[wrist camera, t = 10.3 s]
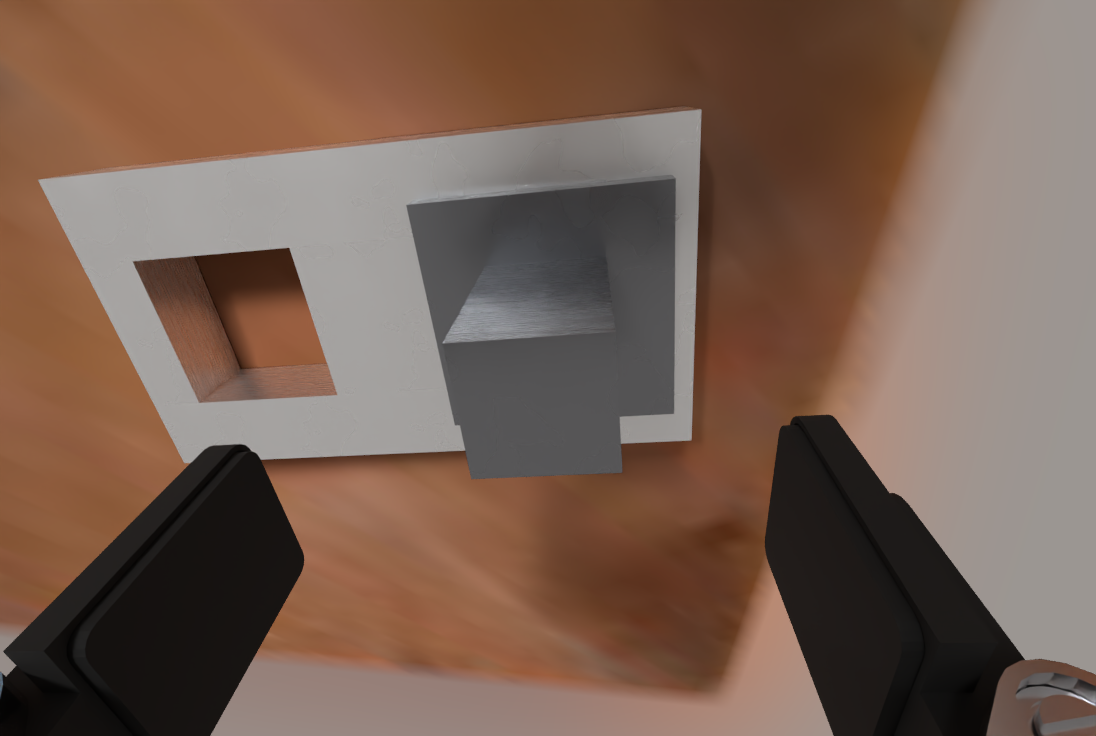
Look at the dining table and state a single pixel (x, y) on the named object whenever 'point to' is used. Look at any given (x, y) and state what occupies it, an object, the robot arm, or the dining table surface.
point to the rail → (343, 273)
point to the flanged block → (551, 318)
